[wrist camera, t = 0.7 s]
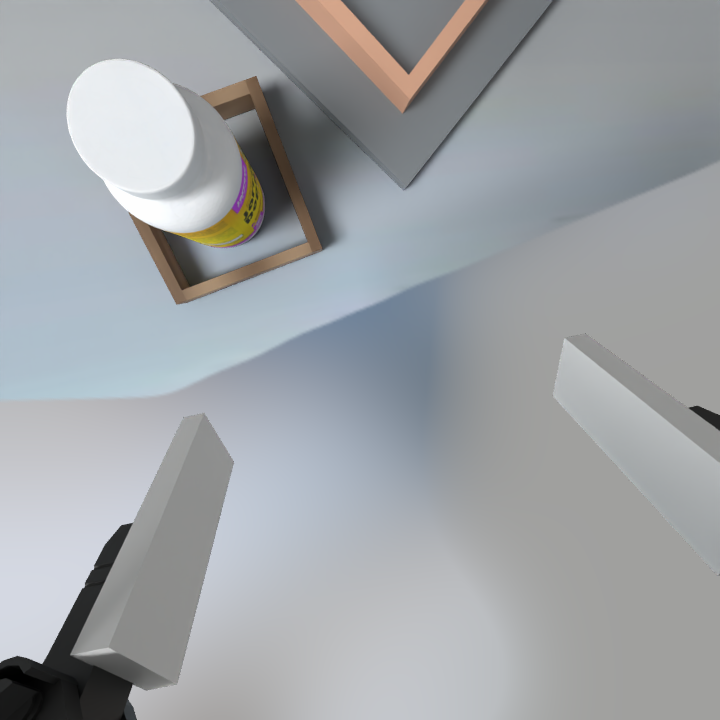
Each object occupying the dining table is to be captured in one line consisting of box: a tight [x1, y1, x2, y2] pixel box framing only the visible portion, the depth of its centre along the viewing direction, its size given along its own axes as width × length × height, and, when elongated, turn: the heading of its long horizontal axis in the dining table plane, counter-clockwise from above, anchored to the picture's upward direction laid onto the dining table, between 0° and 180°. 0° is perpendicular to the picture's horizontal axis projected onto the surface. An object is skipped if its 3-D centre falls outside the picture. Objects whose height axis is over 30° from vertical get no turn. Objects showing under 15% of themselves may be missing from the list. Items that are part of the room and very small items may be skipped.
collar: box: [128, 76, 322, 304], centre depth 24 cm, size 12×12×2 cm
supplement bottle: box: [67, 59, 265, 248], centre depth 19 cm, size 7×7×13 cm
